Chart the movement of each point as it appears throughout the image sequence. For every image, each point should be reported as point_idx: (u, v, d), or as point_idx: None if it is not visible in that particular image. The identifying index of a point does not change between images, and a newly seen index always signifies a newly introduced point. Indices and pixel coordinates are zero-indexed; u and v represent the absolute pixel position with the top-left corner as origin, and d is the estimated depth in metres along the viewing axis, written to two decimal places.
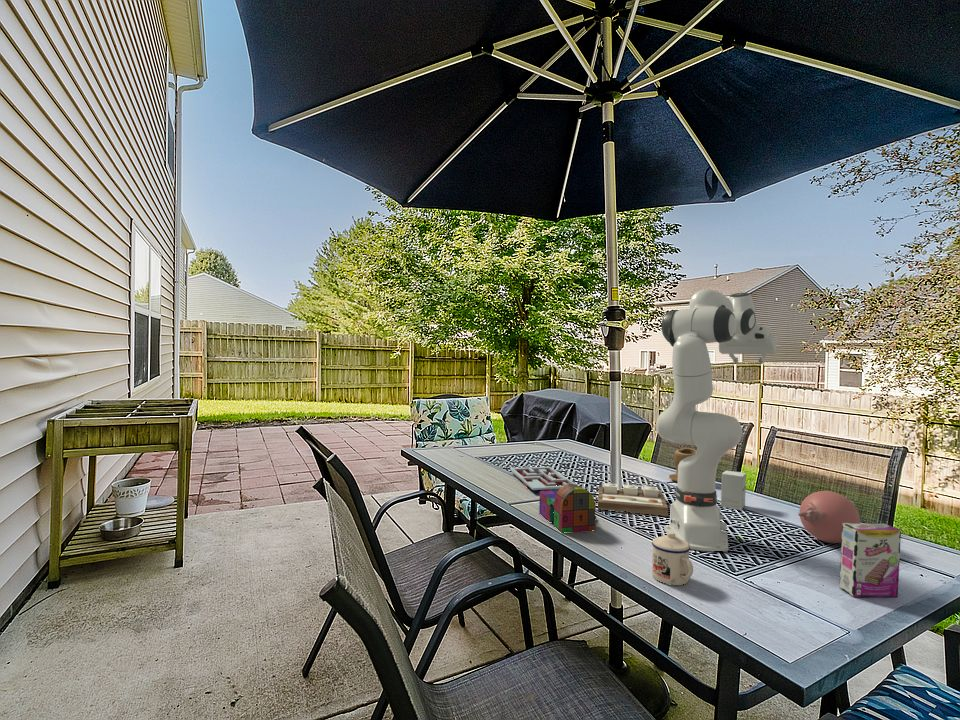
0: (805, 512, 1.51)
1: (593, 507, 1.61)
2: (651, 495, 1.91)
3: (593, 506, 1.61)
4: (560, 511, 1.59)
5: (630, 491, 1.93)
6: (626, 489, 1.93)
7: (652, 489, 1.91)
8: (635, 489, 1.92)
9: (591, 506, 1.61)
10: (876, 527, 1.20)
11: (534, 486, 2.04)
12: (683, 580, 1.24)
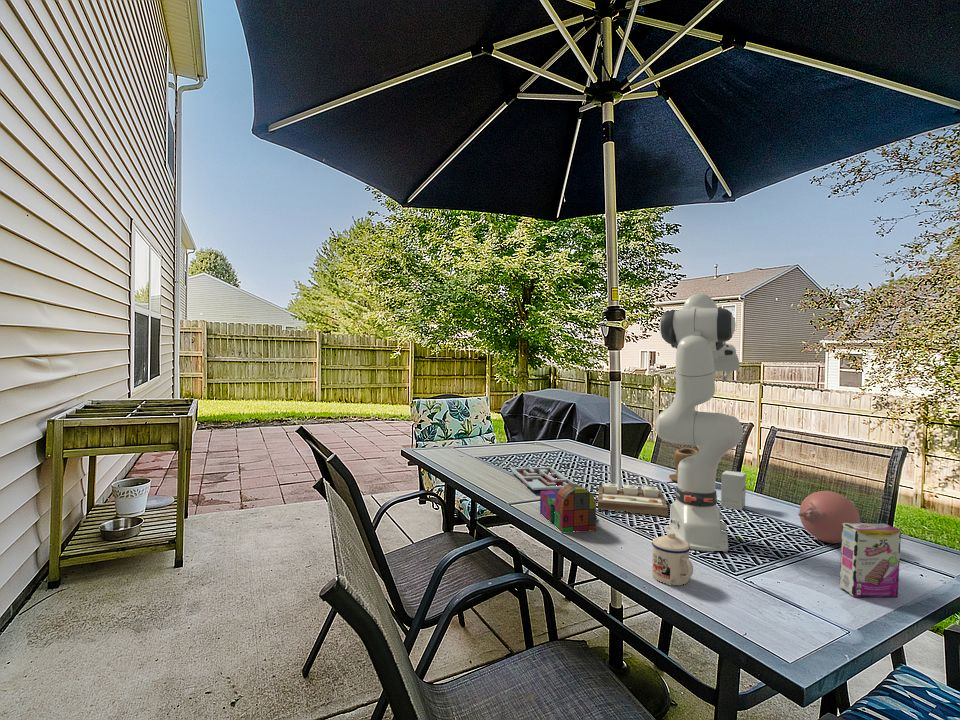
0: (805, 512, 1.51)
1: (594, 507, 1.61)
2: (651, 495, 1.91)
3: (594, 506, 1.61)
4: (561, 511, 1.59)
5: (630, 491, 1.93)
6: (626, 489, 1.93)
7: (652, 489, 1.91)
8: (635, 489, 1.92)
9: (592, 505, 1.61)
10: (876, 527, 1.20)
11: (534, 486, 2.04)
12: (683, 580, 1.24)
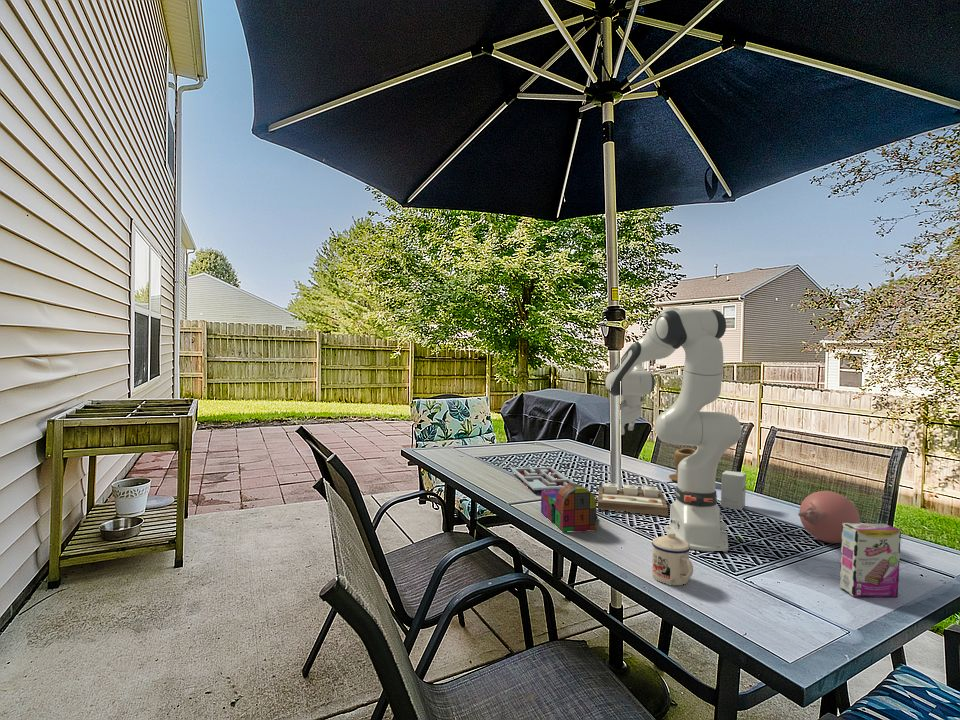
0: (805, 512, 1.51)
1: (594, 507, 1.61)
2: (651, 495, 1.91)
3: (594, 506, 1.61)
4: (561, 510, 1.60)
5: (630, 491, 1.93)
6: (626, 489, 1.93)
7: (652, 489, 1.91)
8: (635, 489, 1.92)
9: (592, 505, 1.61)
10: (876, 527, 1.20)
11: (535, 486, 2.04)
12: (683, 580, 1.24)
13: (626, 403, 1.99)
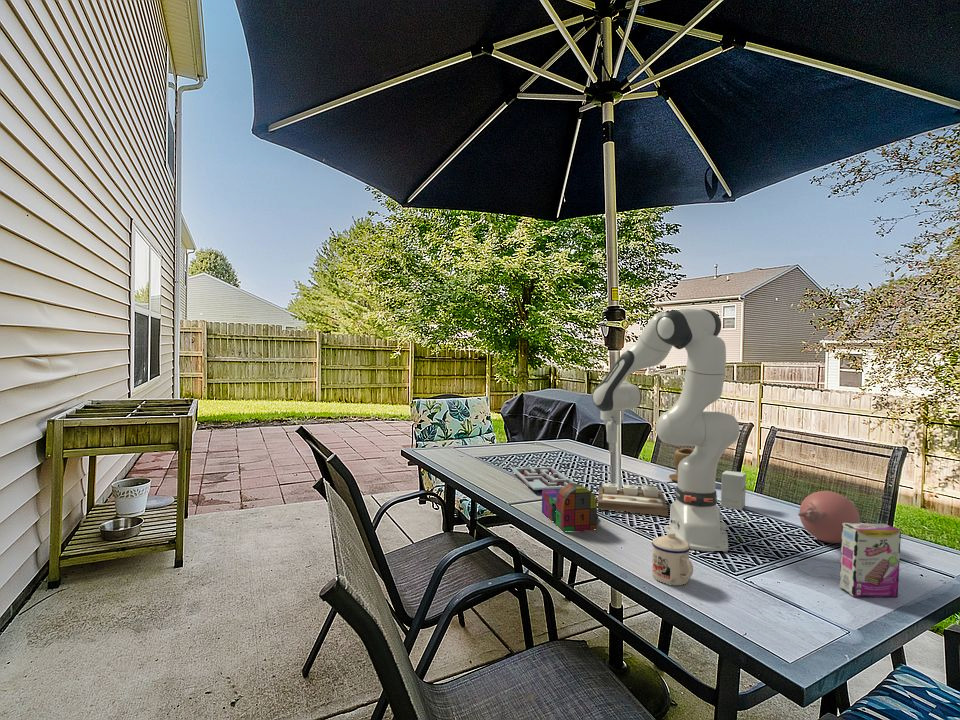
0: (805, 512, 1.51)
1: (595, 506, 1.62)
2: (651, 495, 1.91)
3: (595, 505, 1.62)
4: (562, 510, 1.60)
5: (630, 491, 1.93)
6: (626, 489, 1.93)
7: (652, 489, 1.91)
8: (635, 489, 1.92)
9: (593, 505, 1.61)
10: (876, 527, 1.20)
11: (535, 486, 2.04)
12: (683, 580, 1.24)
13: (614, 419, 1.92)
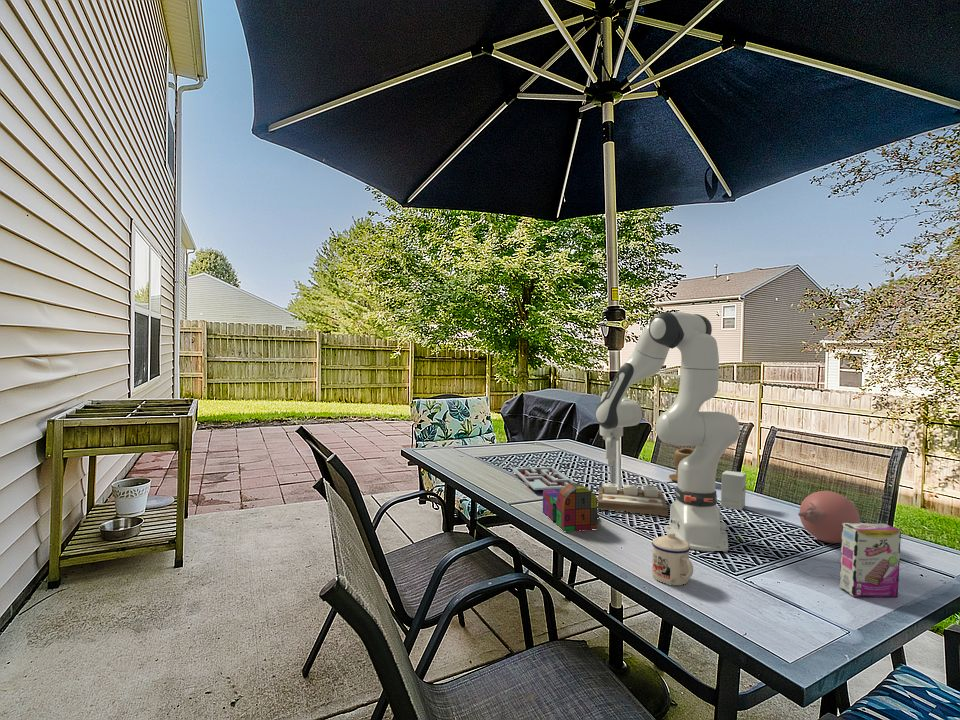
0: (805, 512, 1.51)
1: (595, 506, 1.62)
2: (651, 495, 1.91)
3: (595, 505, 1.62)
4: (562, 510, 1.60)
5: (630, 491, 1.93)
6: (626, 489, 1.93)
7: (652, 489, 1.91)
8: (635, 489, 1.92)
9: (593, 505, 1.62)
10: (876, 527, 1.20)
11: (536, 486, 2.04)
12: (683, 580, 1.24)
13: (613, 435, 1.92)
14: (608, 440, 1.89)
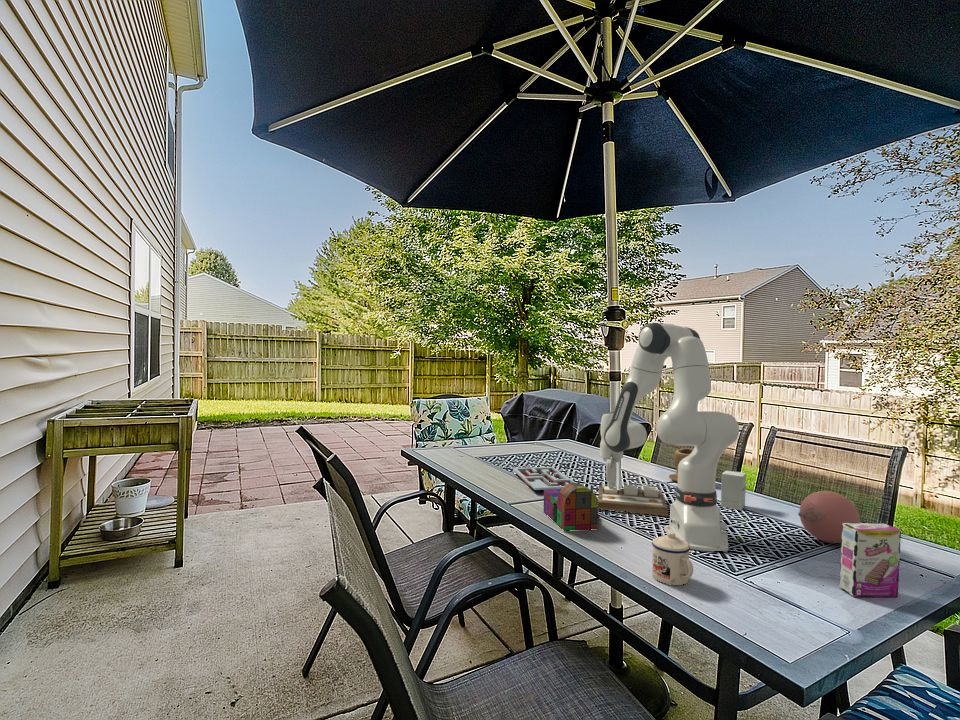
0: (805, 512, 1.51)
1: (596, 506, 1.62)
2: (651, 495, 1.91)
3: (596, 505, 1.62)
4: (563, 509, 1.61)
5: (630, 491, 1.93)
6: (626, 489, 1.93)
7: (652, 489, 1.91)
8: (635, 489, 1.92)
9: (594, 504, 1.62)
10: (876, 527, 1.20)
11: (536, 486, 2.04)
12: (683, 580, 1.24)
13: (613, 457, 1.93)
14: (608, 462, 1.89)
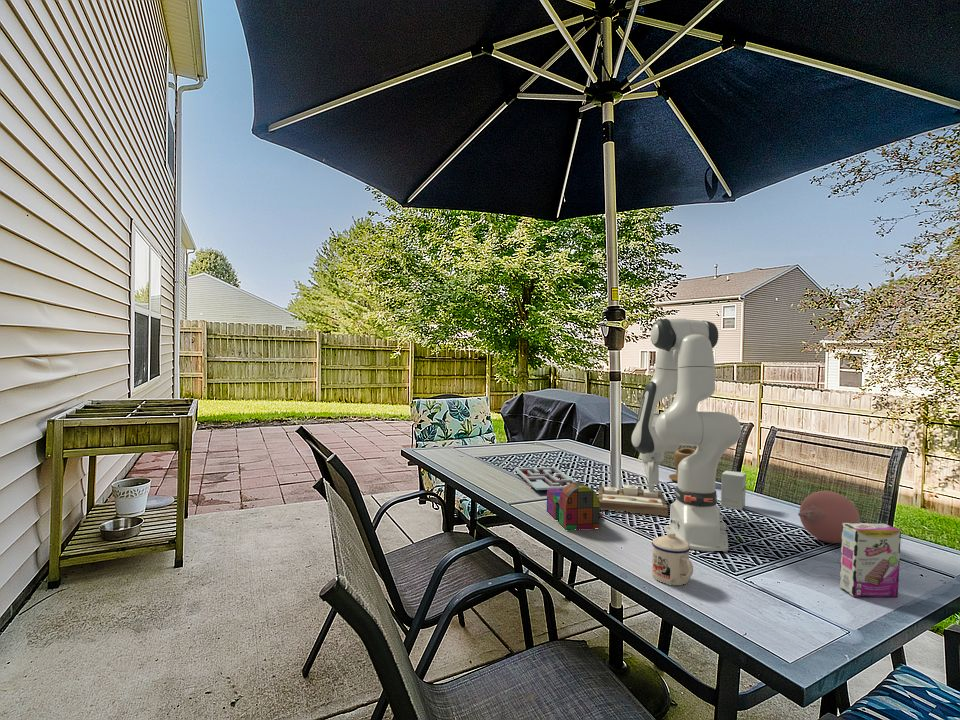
0: (805, 512, 1.51)
1: (597, 505, 1.63)
2: None
3: (597, 504, 1.63)
4: (564, 509, 1.62)
5: (630, 491, 1.93)
6: (626, 489, 1.93)
7: (652, 492, 1.91)
8: (635, 489, 1.92)
9: (596, 504, 1.63)
10: (876, 527, 1.20)
11: (538, 486, 2.03)
12: (683, 580, 1.24)
13: (655, 460, 1.89)
14: (650, 465, 1.85)
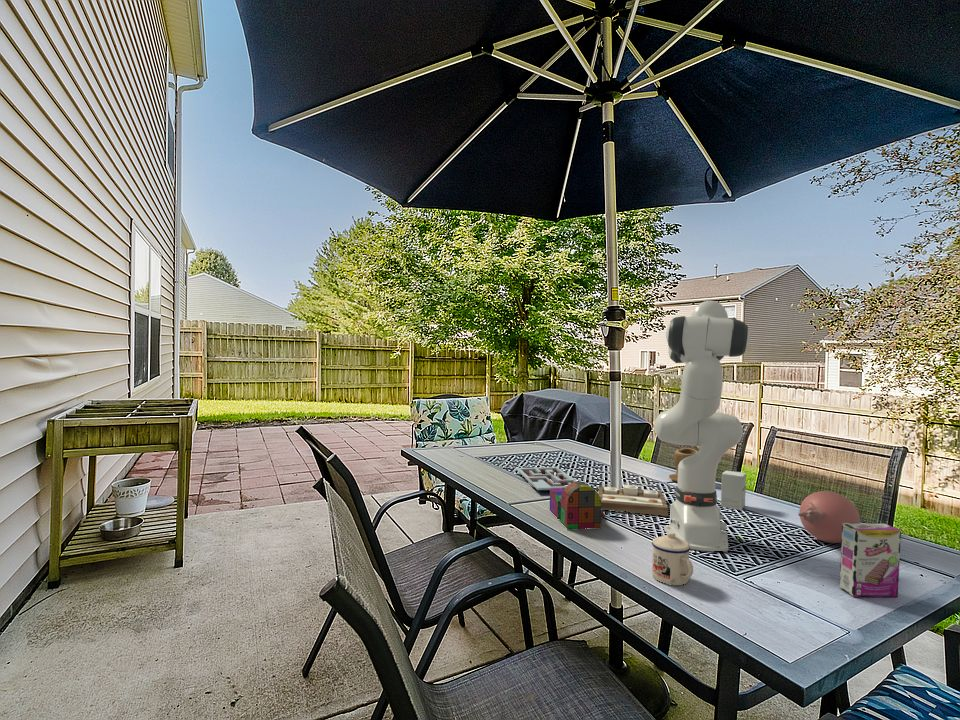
0: (805, 512, 1.51)
1: (599, 505, 1.63)
2: None
3: (599, 504, 1.63)
4: (566, 508, 1.63)
5: (630, 491, 1.93)
6: (626, 489, 1.93)
7: (652, 493, 1.91)
8: (635, 489, 1.92)
9: (597, 503, 1.63)
10: (876, 527, 1.20)
11: (539, 486, 2.03)
12: (683, 580, 1.24)
13: None
14: None
